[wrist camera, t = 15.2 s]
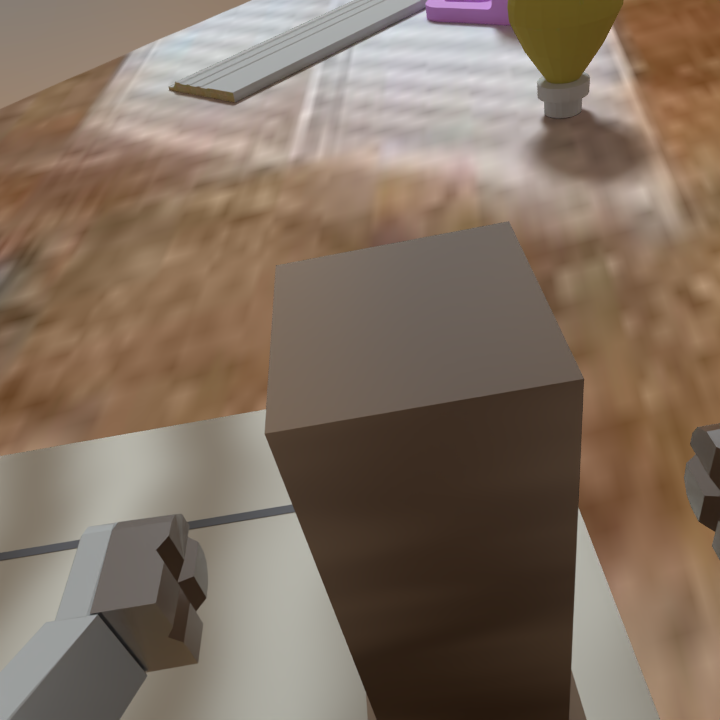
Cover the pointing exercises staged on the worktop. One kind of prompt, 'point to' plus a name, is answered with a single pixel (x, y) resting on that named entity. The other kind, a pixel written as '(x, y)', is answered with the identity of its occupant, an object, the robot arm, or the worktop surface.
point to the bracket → (468, 11)
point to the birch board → (240, 576)
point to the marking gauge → (435, 470)
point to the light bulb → (562, 45)
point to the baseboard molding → (295, 49)
